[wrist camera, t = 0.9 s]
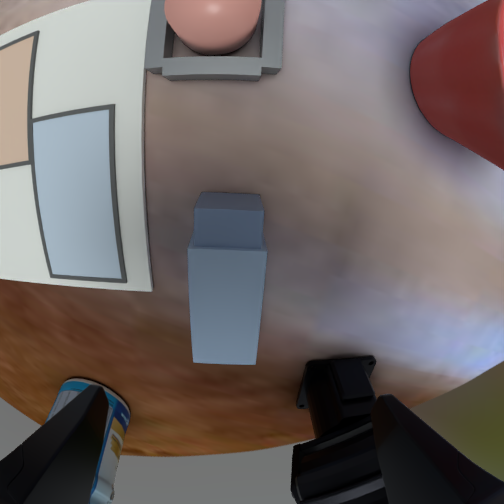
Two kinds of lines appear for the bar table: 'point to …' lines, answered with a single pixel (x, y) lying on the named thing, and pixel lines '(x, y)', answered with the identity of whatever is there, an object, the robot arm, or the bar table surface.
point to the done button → (213, 23)
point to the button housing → (214, 66)
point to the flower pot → (465, 80)
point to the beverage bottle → (112, 437)
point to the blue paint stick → (226, 277)
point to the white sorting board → (75, 148)
